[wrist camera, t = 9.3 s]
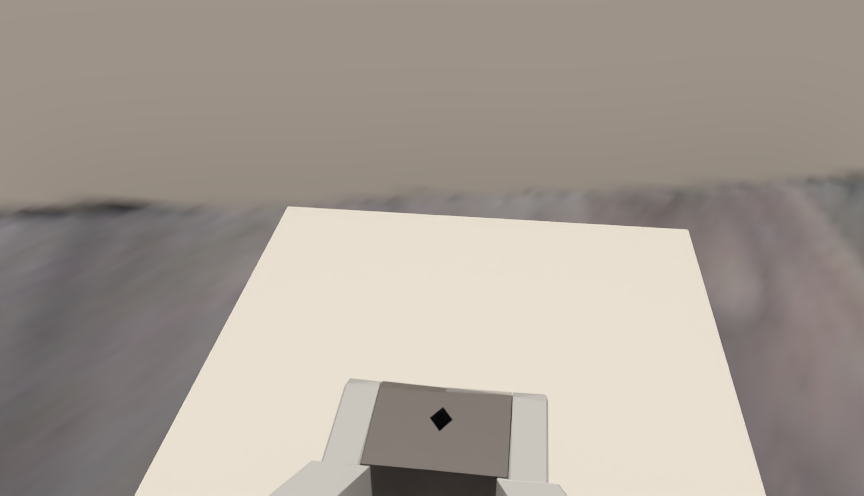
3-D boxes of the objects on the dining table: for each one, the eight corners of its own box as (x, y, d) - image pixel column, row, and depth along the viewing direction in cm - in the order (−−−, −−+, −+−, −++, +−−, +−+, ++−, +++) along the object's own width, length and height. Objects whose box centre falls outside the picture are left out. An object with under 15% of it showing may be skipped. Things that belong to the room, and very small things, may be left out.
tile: (803, 626, 12) (687, 229, 22) (104, 551, 14) (287, 206, 24) (768, 699, 14) (673, 295, 24) (135, 624, 15) (295, 269, 25)
